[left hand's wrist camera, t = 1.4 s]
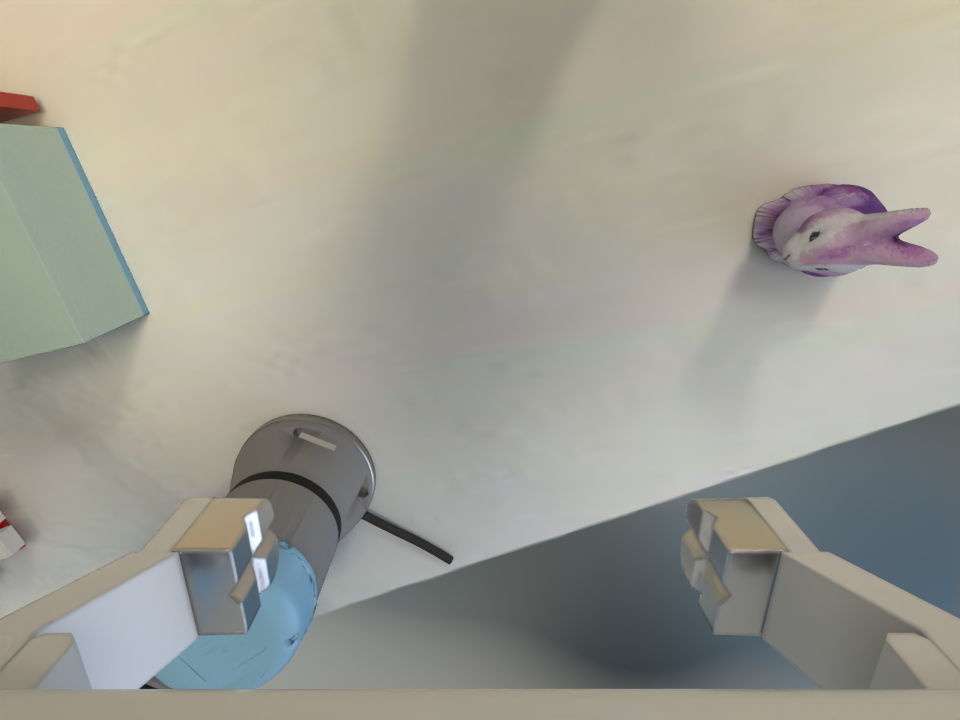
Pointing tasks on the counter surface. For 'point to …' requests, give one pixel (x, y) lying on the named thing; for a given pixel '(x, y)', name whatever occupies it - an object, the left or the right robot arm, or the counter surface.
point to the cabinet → (55, 250)
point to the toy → (8, 539)
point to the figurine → (838, 231)
